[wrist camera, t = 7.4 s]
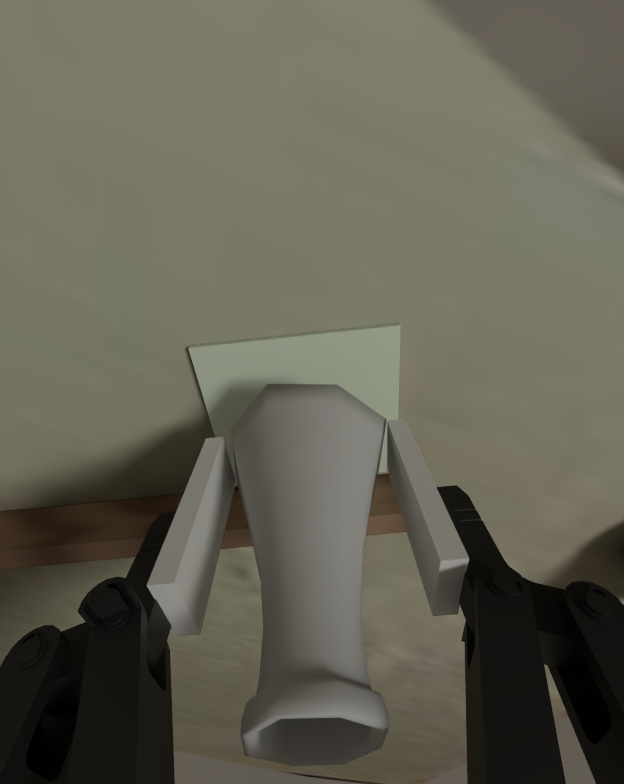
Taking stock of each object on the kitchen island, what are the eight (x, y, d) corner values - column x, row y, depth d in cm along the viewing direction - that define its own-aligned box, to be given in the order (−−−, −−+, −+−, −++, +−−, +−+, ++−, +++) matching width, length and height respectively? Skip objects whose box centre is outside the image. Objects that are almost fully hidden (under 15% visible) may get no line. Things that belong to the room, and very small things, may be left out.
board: (230, 483, 21) (230, 486, 20) (190, 345, 16) (188, 347, 16) (395, 467, 20) (396, 470, 20) (398, 323, 16) (400, 325, 16)
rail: (-21, 530, 22) (-64, 575, 19) (-35, 515, 21) (-82, 558, 19) (394, 491, 21) (407, 531, 19) (395, 473, 21) (408, 513, 18)
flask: (215, 482, 17) (122, 782, 8) (252, 354, 14) (162, 633, 5) (349, 513, 18) (391, 800, 10) (413, 404, 15) (567, 692, 6)
